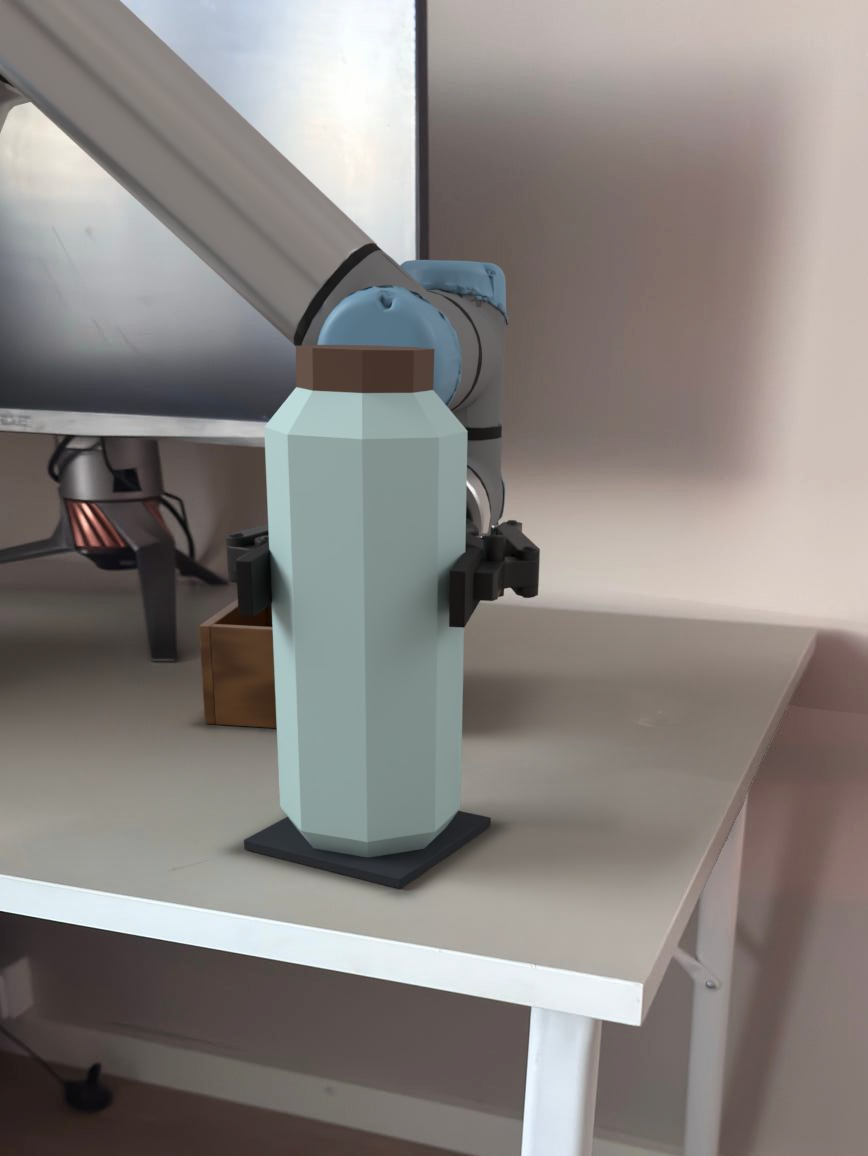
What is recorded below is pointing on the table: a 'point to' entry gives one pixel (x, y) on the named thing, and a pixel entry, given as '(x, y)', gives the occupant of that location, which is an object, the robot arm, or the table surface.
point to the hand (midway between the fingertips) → (350, 594)
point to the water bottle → (366, 598)
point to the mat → (379, 869)
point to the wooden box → (238, 668)
